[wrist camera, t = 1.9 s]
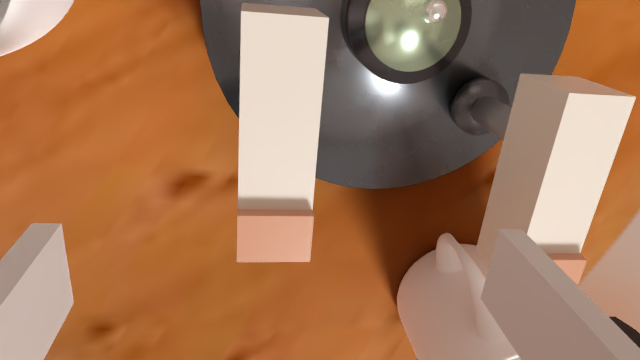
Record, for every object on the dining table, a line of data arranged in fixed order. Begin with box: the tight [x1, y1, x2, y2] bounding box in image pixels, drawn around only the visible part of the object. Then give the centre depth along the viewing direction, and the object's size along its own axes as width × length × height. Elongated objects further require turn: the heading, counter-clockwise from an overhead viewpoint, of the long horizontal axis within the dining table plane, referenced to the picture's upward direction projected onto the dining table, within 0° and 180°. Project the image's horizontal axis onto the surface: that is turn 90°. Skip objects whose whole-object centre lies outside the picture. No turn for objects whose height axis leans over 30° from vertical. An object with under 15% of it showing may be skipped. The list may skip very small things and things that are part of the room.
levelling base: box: [200, 0, 576, 189], centre depth 24 cm, size 20×20×6 cm
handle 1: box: [237, 3, 329, 262], centre depth 20 cm, size 9×3×9 cm, turn 175°
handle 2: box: [471, 73, 636, 285], centre depth 23 cm, size 9×3×9 cm, turn 175°
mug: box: [397, 233, 521, 360], centre depth 30 cm, size 9×12×11 cm
